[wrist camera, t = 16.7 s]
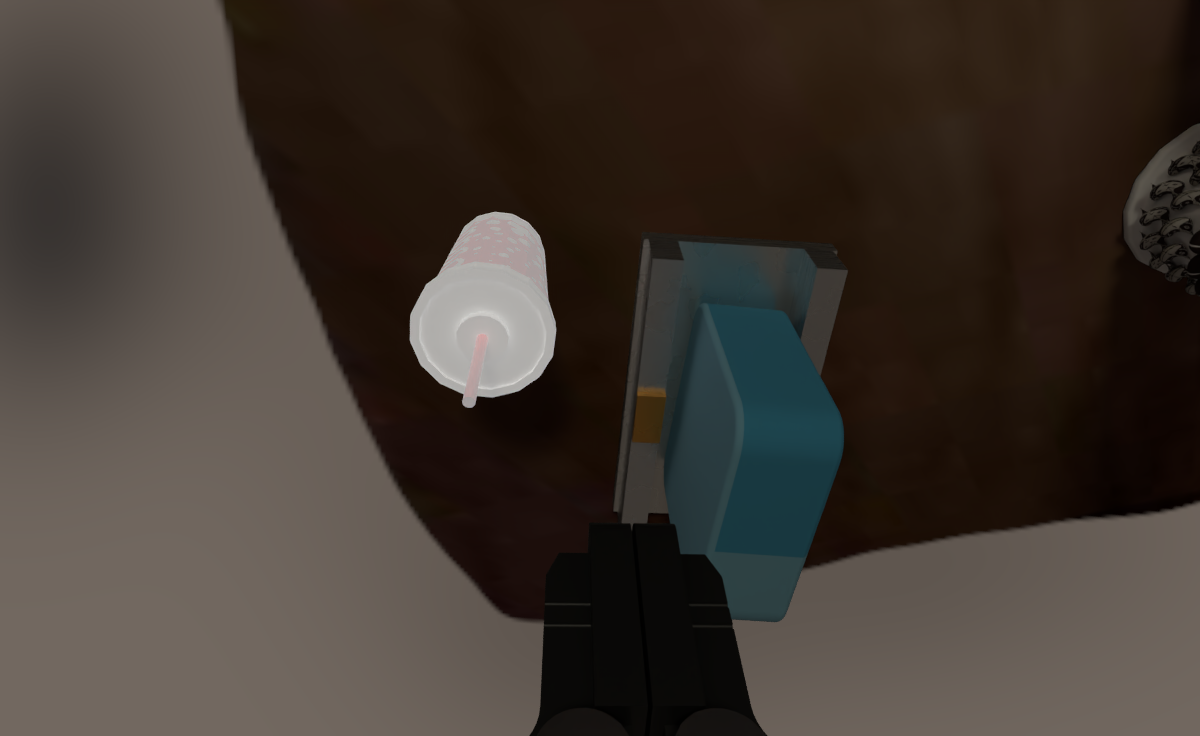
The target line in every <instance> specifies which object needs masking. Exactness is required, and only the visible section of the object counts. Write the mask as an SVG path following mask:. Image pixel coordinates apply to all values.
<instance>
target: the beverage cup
mask: <svg viewBox="0 0 1200 736" xmlns="http://www.w3.org/2000/svg"><path fill="white" fill-rule="evenodd" d="M555 324H556V322H555V319H554V316H553V313H552V310H551V307H550V304H549V301H548V291H547V278H546V265H545V252H544V248H543V245H542V242H541V239H540V236H539V235H538V233H537V232H536V231H535V230H534V229H533V227H532V226H531V225H530V224H529V223H528V222H526V221H525V220H523V219H521V218H519V217H517V216H515V215H513V214H508V213H500V212H492V213H488V214H484V215H481V216H478V217H476V218H475V219H474V220H472V221H471V222H470V223H469V224H467V225H466V226H465V227H464V229H463V230H462V232H461V234H460V236H459V238H458V240H457V241H456V243H455V245H454V247H453V249H452V251H451V252H450V254H449V256H448V258H447V260H446V262H445V263H444V265H443V267H442V269H441V271H440V273H439V274H438V276H437V277H436V278H434V279H433V280H432V281H430V282H429V283H428V284H426V286H425V288H424V290H423V291H422V293H421V295H420V297H419V299H418V301H417V303H416V305H415V307H414V309H413V311H412V313H411V315H410V342H411V344H412V347H413V349H414V351H415V353H416V356H417V358H418V360H419V362H420V365H421V366H422V367H423V368H425V369H426V370H427V371H428V372H429V373H430V374H431V375H432V376H433V377H434V378H435V379H436V380H437V381H438V382H439V383H440V384H442V385H445V386H447V387H449V388H451V389H453V390H456V391H458V392H460V393H462V394H464V396H463V401H462V403H463V405H464V406H465V407H467V408H471V407H473V406H474V405H475V403H476V398H477V396H483V397H496V396H501V395H505V394H509V393H513V392H517V391H520V390H521V389H522V388H524V387H525V386H527V385H528V384H530V383H531V382H533V381H534V380H536V379H537V378H539V377H540V375H541V374H542V372H543V371H544V369H545V368H546V366H547V364H548V363H549V361H550V360H551V358H552V357H553V351H554V343H555V335H556V327H555Z"/></svg>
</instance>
